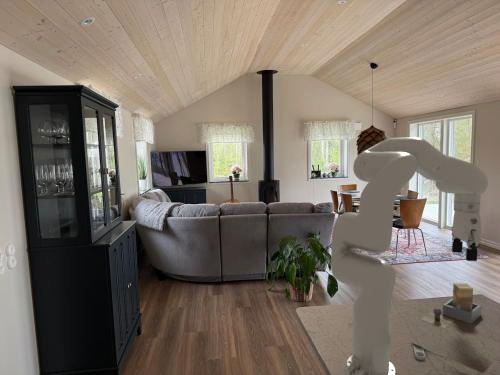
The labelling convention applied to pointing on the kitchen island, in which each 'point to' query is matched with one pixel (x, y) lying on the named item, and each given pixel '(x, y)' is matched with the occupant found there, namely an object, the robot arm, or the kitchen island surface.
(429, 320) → the stud plate
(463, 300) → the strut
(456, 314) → the bin
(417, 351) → the adjustable wrench
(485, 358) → the kitchen island surface
